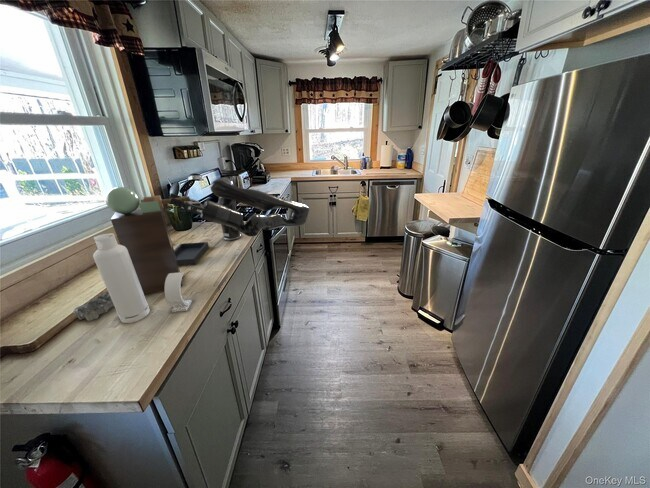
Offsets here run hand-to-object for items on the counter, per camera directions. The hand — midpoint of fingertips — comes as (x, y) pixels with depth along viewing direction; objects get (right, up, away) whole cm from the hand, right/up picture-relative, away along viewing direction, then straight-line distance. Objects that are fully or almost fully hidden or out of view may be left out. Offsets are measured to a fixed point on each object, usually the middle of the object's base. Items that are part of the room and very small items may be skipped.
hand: (170, 198), depth 93 cm
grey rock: (-21, -40, -5) cm, 45 cm away
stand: (-8, -33, +8) cm, 35 cm away
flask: (-9, -6, -4) cm, 11 cm away
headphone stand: (+7, -39, -5) cm, 40 cm away
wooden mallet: (-1, -3, +1) cm, 3 cm away
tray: (-11, -23, +32) cm, 41 cm away
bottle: (-7, -40, -8) cm, 42 cm away
